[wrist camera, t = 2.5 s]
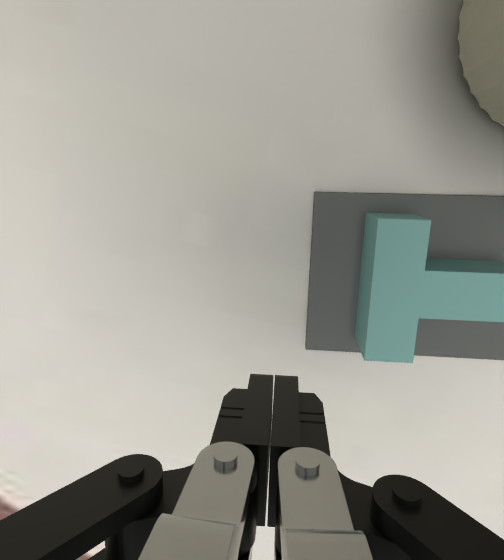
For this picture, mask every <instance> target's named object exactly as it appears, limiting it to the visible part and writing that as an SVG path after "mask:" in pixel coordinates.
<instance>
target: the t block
mask: <svg viewBox="0 0 504 560" xmlns="http://www.w3.org/2000/svg"><path fill="white" fill-rule="evenodd" d="M430 227H431V220H429V219H426V218H423V217H420V216H417V215H414V214H411V213H375V212H366V216H365V227H364V238H363V249H362V261H361V272H360V283H359V294H358V305H357V317H356V328H355V338H356V341H357V343H358V346H359V348H360V351H361V353H362V355H363V358H364V360H367V361H385V362H404V363H413V357H414V349H415V342H416V334H417V326H418V319H419V318H423V319H445V320H466V321H487V322H504V263H502V262H499V261H495V260H466V259H438V258H426V257H427V250H428V242H429V234H430Z"/></svg>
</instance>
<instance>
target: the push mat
mask: <svg viewBox="0 0 504 560" xmlns="http://www.w3.org/2000/svg"><path fill="white" fill-rule="evenodd" d="M366 212H375V213H411V214H414V215H417V216H420V217H423V218H426V219H429V220H431V227H430V234H429V242H428V250H427V257H426V258H438V259H466V260H495V261H499V262H502V263H504V196H468V195H426V194H383V193H341V192H314V207H313V225H312V242H311V260H310V278H309V295H308V313H307V330H306V349H307V350H326V351H344V352H361V351H360V348H359V346H358V343H357V341H356V338H355V328H356V317H357V305H358V294H359V283H360V272H361V261H362V249H363V238H364V227H365V216H366ZM414 355H419V356H438V357H456V358H475V359H493V360H504V322H487V321H466V320H445V319H423V318H419V319H418V326H417V334H416V342H415V349H414Z"/></svg>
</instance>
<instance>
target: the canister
mask: <svg viewBox="0 0 504 560" xmlns="http://www.w3.org/2000/svg"><path fill="white" fill-rule="evenodd" d="M459 22H460V28H459V34H458V38H457V39H458V42H459V46H460V55H459V59H460V60H461V63H462V66H463V72H464V73H463V76H464V77H465V78H466V80H467V82H468V84H469V86H470V93H471V94H473V95H474V96H475V98H476V99H477V101H478V103H479V106H480V108H482V109H484V110H485V111H486V112H487V113H488V114H489V115H490V117H491V119H492V120H493V121H495V122H498V123H500V124H501V125H502V126H503V127H504V0H463V7H462V9H461V12H460V14H459Z"/></svg>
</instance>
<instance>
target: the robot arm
mask: <svg viewBox="0 0 504 560" xmlns="http://www.w3.org/2000/svg"><path fill="white" fill-rule="evenodd" d="M272 397H273V375H263V374H250V379H249V384H248V389H235V388H233V389H232V390H231V391H230V392H228V393H227V394H226V395H225V396H224V398H223V402H222V405H221V409H220V412H219V416H218V419H217V422H216V425H215V429H214V432H213V436H212V439H211V443H210V445H209V446H207V447H205V448H204V449H203V450H202V451H201V452H200V453H199V455H198V456H197V459H196V461H195V463H194V464H193V465H190V466H188V467H185V468H180V469H175V470H169V471H163V469H162V465H161V464H160V462H159V461H158V460H157V459H155V458H154V457H152V456H149V455H143V454H134V455H128V456H124V457H121V458H119V459H117V460H115V461H113V462H111V463H109V464H107V465H105V466H103V467H101V468H99V469H97V470H96V471H94V472H92V473H90V474H88V475H86V476H84V477H82V478H80V479H78V480H76V481H75V482H73V483H71V484H69V485H67V486H65V487H63V488H61V489H59V490H57V491H56V492H54V493H52V494H50V495H48V496H46V497H44V498H42V499H40V500H38V501H36V502H35V503H33V504H31V505H29V506H27V507H25V508H23V509H21V510H19V511H17V512H16V513H14V514H12V515H10V516H8V517H6V518H4V519H2V520H0V560H76V559H77V558H79V557H80V556H82V555H83V554H85V553H86V552H88V551H89V550H91V549H92V548H94V547H95V546H97V545H98V544H100V543H101V542H103V541H104V540H105V547H106V548H104V549H103V550H101V551H100V552H98V553H97V554H95V555H94V556H92V557H91V558H89V559H88V560H251V559H252V546H253V544H254V541H255V534H256V526H265V516H266V501H267V487H268V472H269V498H268V526H269V527H275V546H274V560H504V540H503V539H502V538H500V537H499V536H498V535H496V534H495V533H493V532H492V531H490V530H489V529H488V528H486V527H485V526H483V525H482V524H480V523H479V522H478V521H476V520H475V519H473V518H472V517H471V516H469V515H468V514H466V513H465V512H463V511H462V510H461V509H459V508H458V507H456V506H455V505H453V504H452V503H451V502H449V501H448V500H446V499H445V498H444V497H442V496H441V495H439V494H438V493H436V492H435V491H434V490H432V489H431V488H429V487H428V486H426V485H425V484H423V483H422V482H420V481H418V480H416V479H413V478H411V477H407V476H403V475H387V476H383V477H381V478H379V479H378V480H377V481H376V482H375V483H374V485H373V487H370V486H367V485H364V484H361V483H358V482H355V481H353V480H351V479H349V478H347V477H346V476H344V475H343V474H341V473H340V472H339V471H338V470H337V466H336V464H335V462H334V461H333V459H332V458H331V456H330V450H329V443H328V436H327V429H326V424H325V416H324V409H323V403H322V402H321V400H320V399H319V398H318V397H317V396H316V395H315V393H301V392H299V390H298V376H281V375H275V385H274V400H273V415H272ZM271 424H272V430H271ZM270 443H271V444H270ZM269 457H270V471H269Z"/></svg>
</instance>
